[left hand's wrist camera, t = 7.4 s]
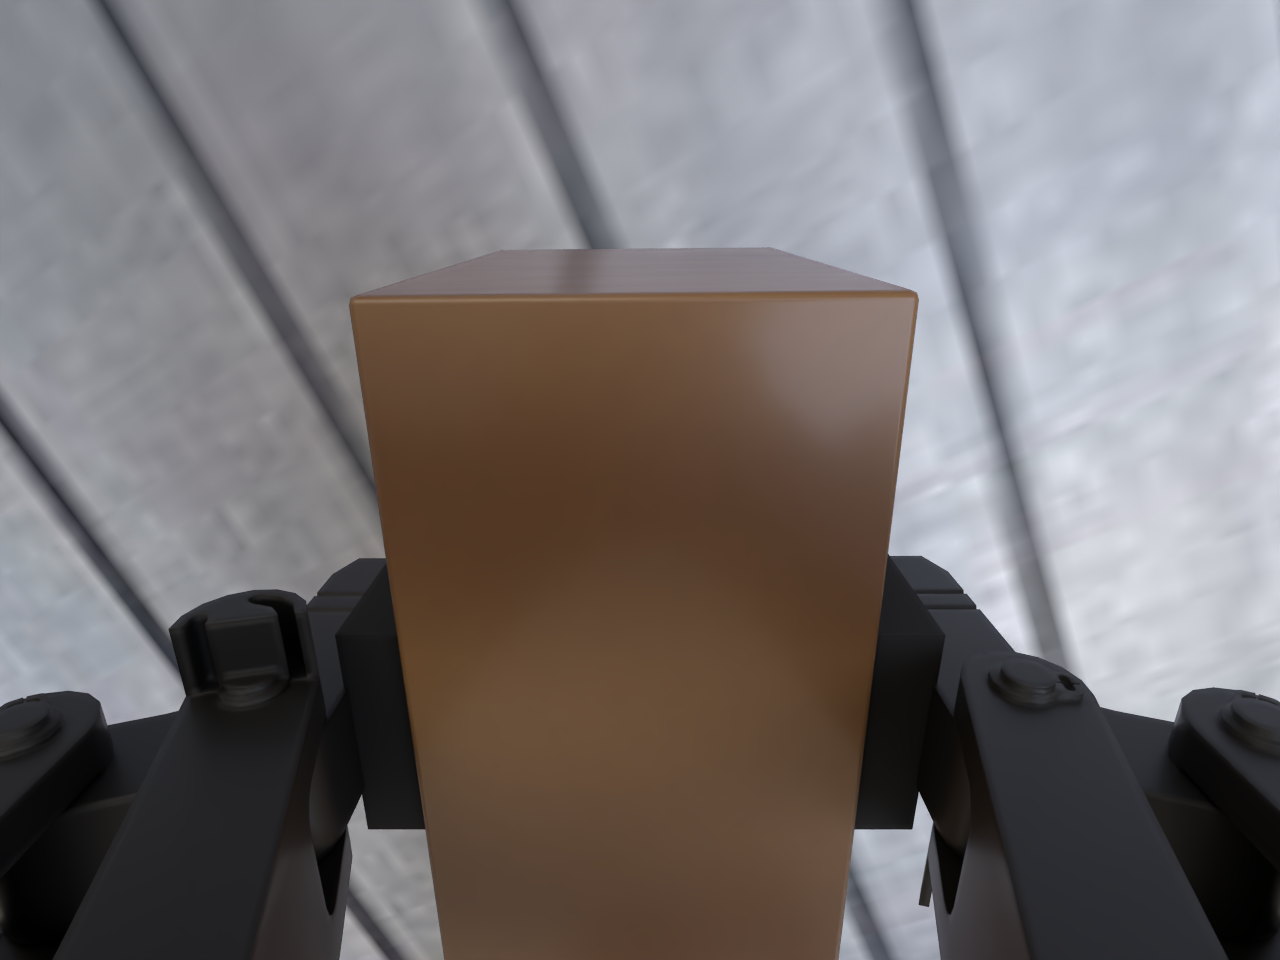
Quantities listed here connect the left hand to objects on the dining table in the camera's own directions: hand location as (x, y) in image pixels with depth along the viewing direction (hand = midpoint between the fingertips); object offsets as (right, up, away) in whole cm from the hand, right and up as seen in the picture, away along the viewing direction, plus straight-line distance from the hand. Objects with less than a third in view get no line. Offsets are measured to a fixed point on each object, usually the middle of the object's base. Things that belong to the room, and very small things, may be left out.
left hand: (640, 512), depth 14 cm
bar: (0, -20, +8) cm, 21 cm away
